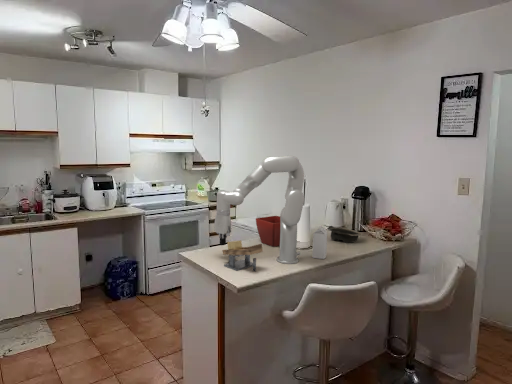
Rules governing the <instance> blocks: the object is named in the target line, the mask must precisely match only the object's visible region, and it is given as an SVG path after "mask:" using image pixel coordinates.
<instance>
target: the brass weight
mask: <svg viewBox="0 0 512 384" xmlns="http://www.w3.org/2000/svg"><path fill="white" fill-rule="evenodd" d="M226 244H227V250H242V247H243V241H242V240H230V241H226Z"/></svg>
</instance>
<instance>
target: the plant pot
mask: <svg viewBox="0 0 512 384" xmlns="http://www.w3.org/2000/svg"><path fill="white" fill-rule="evenodd" d="M255 224H256V228H257V233H258V236H259V237H258V238H259V239H260V240H259V241H260V242H261V244H263V245H267V246H271V248H272V247H273V248H274V247H280V216H279V215H270V216H263V217H258V218H257V217H256V218H255Z"/></svg>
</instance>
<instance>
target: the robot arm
mask: <svg viewBox="0 0 512 384" xmlns="http://www.w3.org/2000/svg"><path fill="white" fill-rule="evenodd" d="M273 173H275V174H276V173H279V174H280V173H288V178H287V179H288V180H287V185H286V190H285V193H284V194H285V195H284V198H285V203H284V207H282V209H281V211H280V246H279V255H278V256H277V257H276V261H277V262H278V263H280V264H281V263H282V264H286V265H287V264H288V265H290V264H291V265H292V264H297V263H298V262H299V258H298V256H300V255H301V252H300V251H297V242H298V241H297V239H298V224H299V222H300V221H301V217H302V212H303V207H304V202H305V195H304V194H303V193H304V192H303V186H304V179H305V171H304V168H303V166H302V164H301V162H300V159H298V157H296V156H294V155H289V154H288V155H285V156H266V157H264V158H263V159H262V160H261V161H260V162H259V163H258V165H256V166H255V168H254V169H252V171H251V172H250V173H249V174H247V176H246V177H245V179H244V180H242V182H241V183H239V185H238V186H236V187H235V189H234V190H233V191H231V192H230V191H229V190H219V191H217V193H216V214H215V216H214V225H213V227H214V232H215V233H216V234H217V235H218V237H219V245H220V246H225V245H226V244H227V237H231V232H232V218H231V205H233V206H240V205H242V204H243V203H244V200H245V198H246V197H247V196H248V195H249V194H250V193H251V192H252V191H253V190H254V189H256V188H258V187H259V186H261V185H262V184H263V182H264V181H265V180H267V178H268V177H269V176H270V175H271V174H273Z"/></svg>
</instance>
